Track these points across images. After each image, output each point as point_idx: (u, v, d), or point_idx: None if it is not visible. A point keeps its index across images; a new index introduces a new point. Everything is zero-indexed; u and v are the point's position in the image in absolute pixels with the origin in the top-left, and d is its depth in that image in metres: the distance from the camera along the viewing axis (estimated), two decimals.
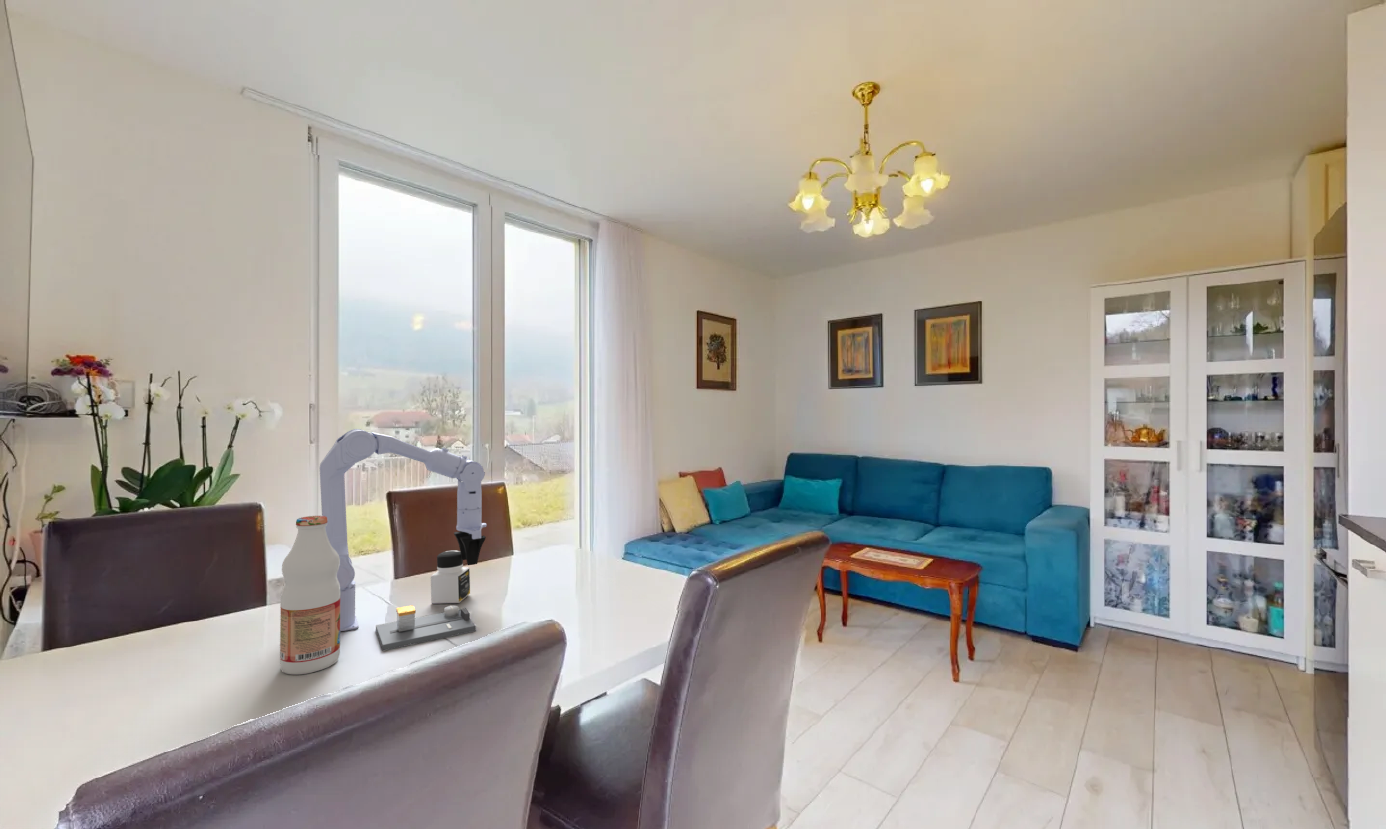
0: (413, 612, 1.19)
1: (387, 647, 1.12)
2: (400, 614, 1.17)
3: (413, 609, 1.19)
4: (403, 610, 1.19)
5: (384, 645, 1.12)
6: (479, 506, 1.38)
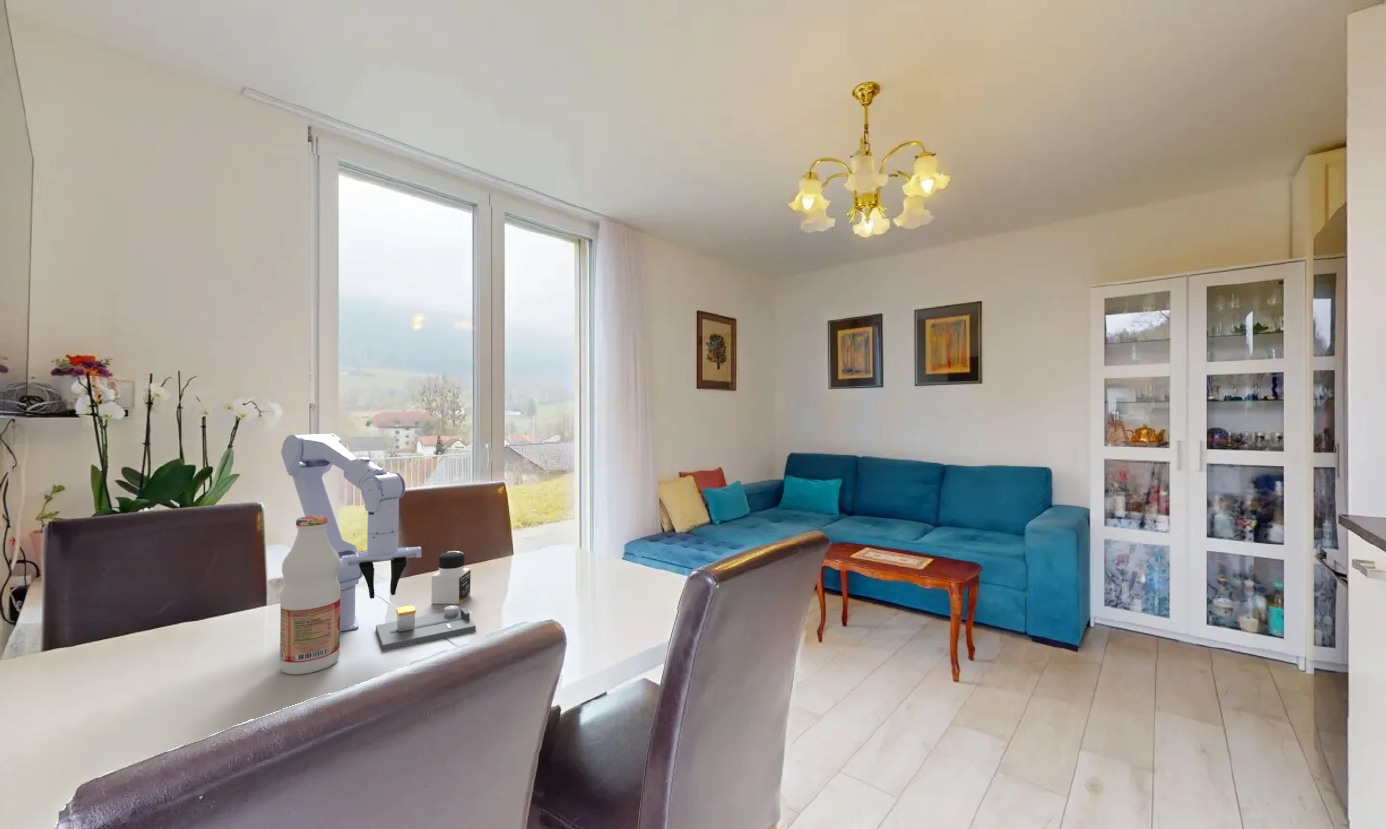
0: (413, 612, 1.19)
1: (387, 647, 1.12)
2: (400, 614, 1.17)
3: (413, 609, 1.19)
4: (403, 610, 1.19)
5: (384, 645, 1.12)
6: (379, 531, 1.14)
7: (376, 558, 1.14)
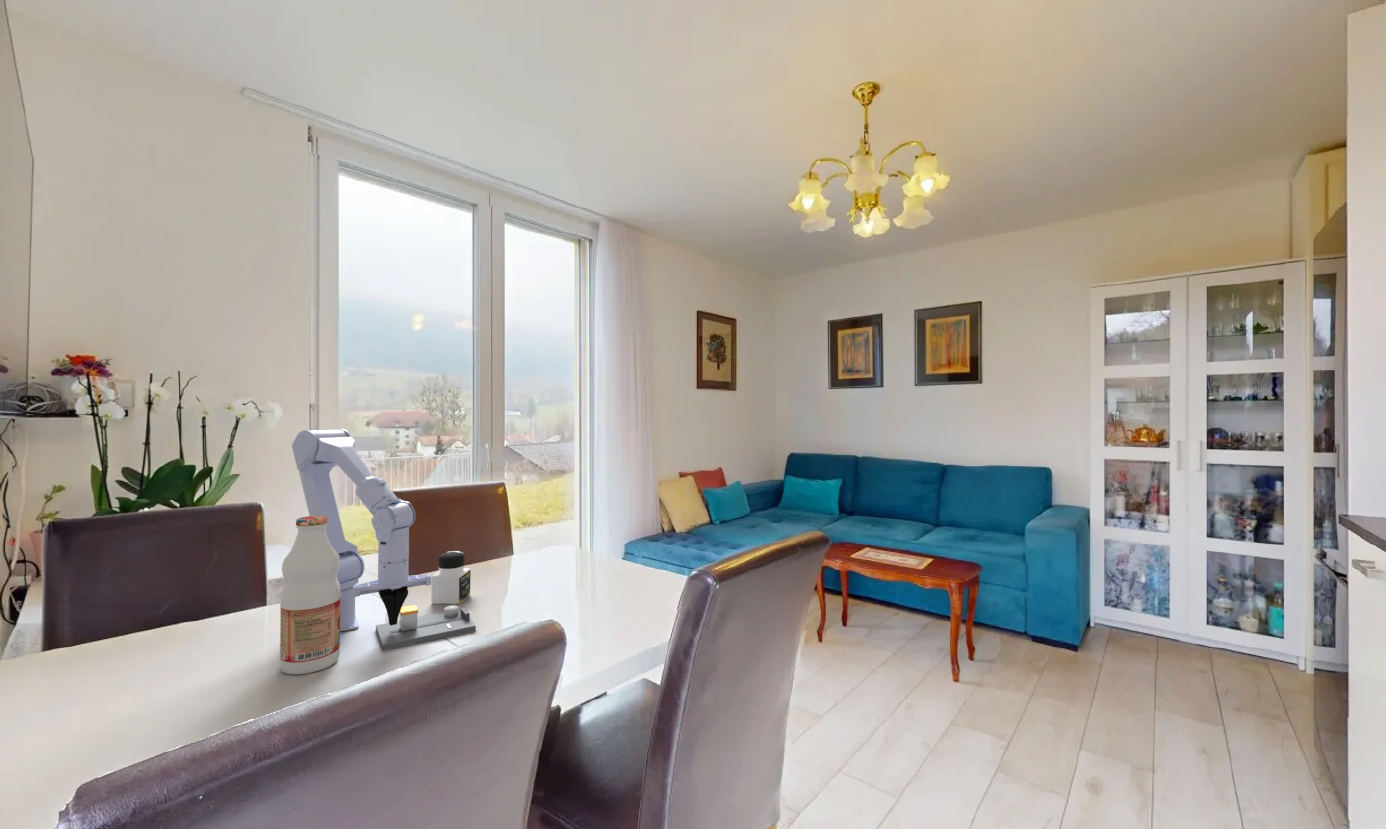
0: (416, 612, 1.19)
1: (387, 647, 1.12)
2: (403, 614, 1.18)
3: (416, 609, 1.20)
4: (406, 610, 1.19)
5: (384, 645, 1.12)
6: (392, 561, 1.15)
7: (387, 587, 1.15)
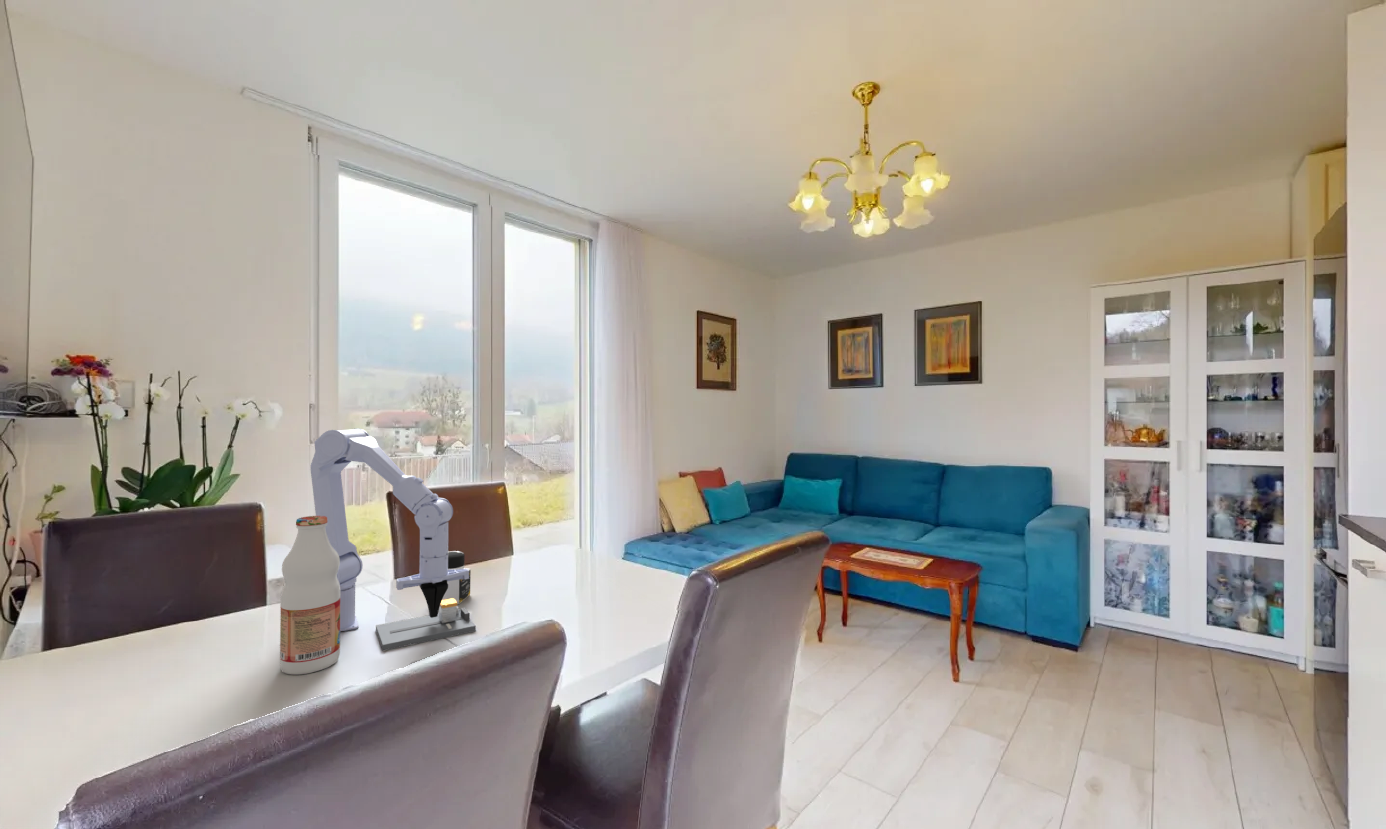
0: (455, 604, 1.24)
1: (387, 647, 1.12)
2: (443, 606, 1.22)
3: (455, 602, 1.24)
4: (445, 602, 1.24)
5: (384, 645, 1.12)
6: (437, 555, 1.20)
7: (429, 581, 1.20)
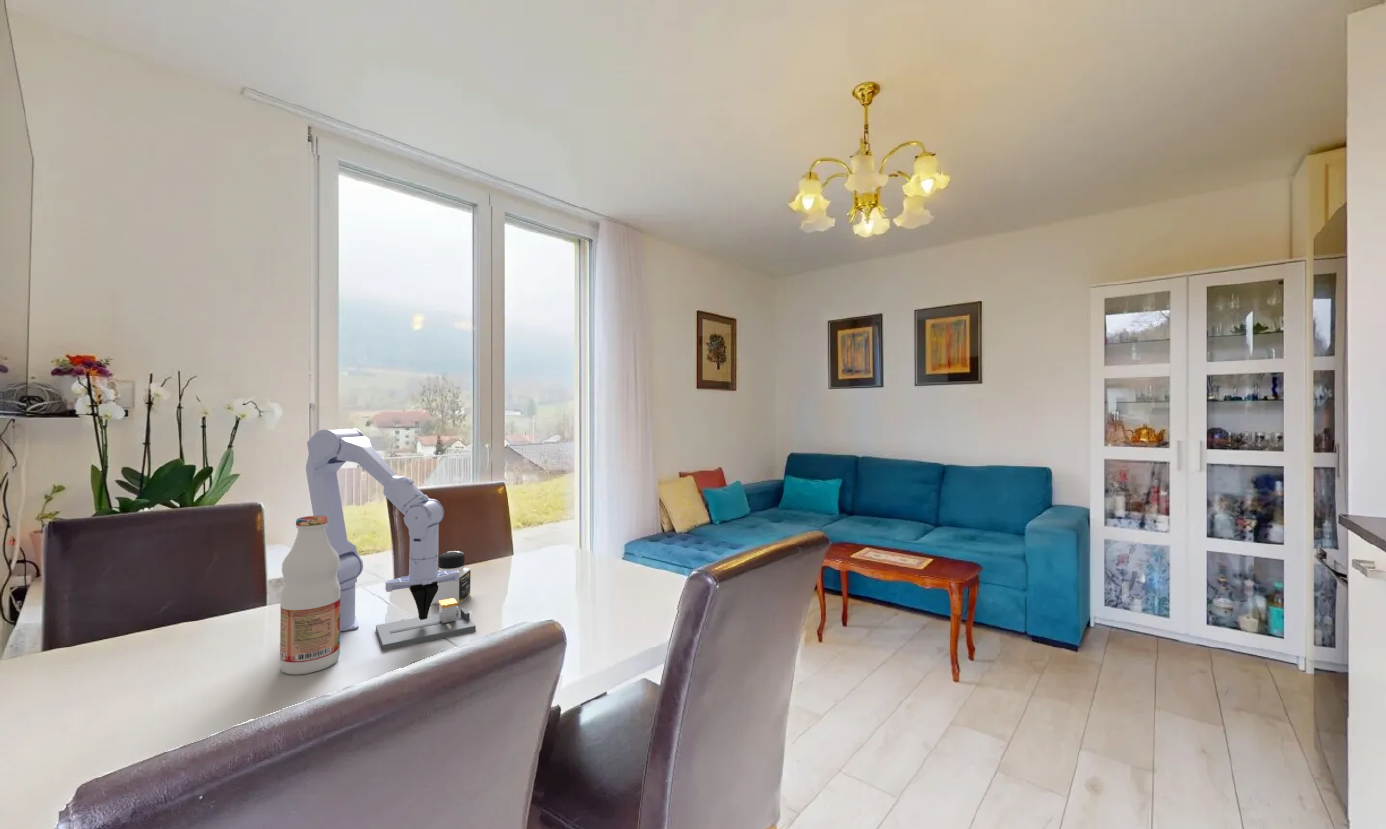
0: (455, 604, 1.24)
1: (387, 647, 1.12)
2: (443, 606, 1.22)
3: (455, 601, 1.24)
4: (445, 602, 1.24)
5: (384, 645, 1.12)
6: (426, 556, 1.19)
7: (418, 583, 1.18)
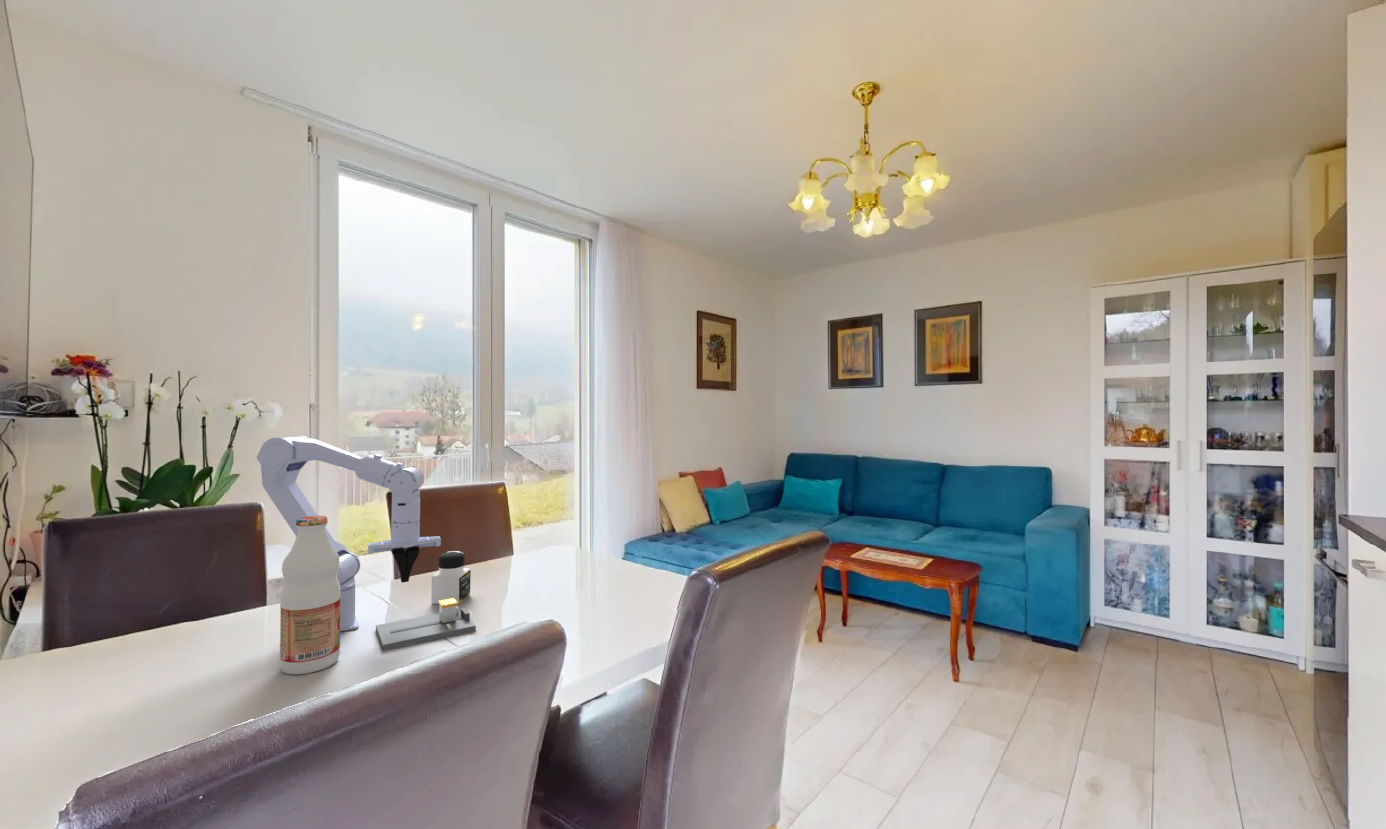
0: (455, 604, 1.24)
1: (387, 647, 1.12)
2: (443, 606, 1.22)
3: (455, 601, 1.24)
4: (445, 602, 1.24)
5: (384, 645, 1.12)
6: (411, 520, 1.23)
7: (399, 546, 1.22)
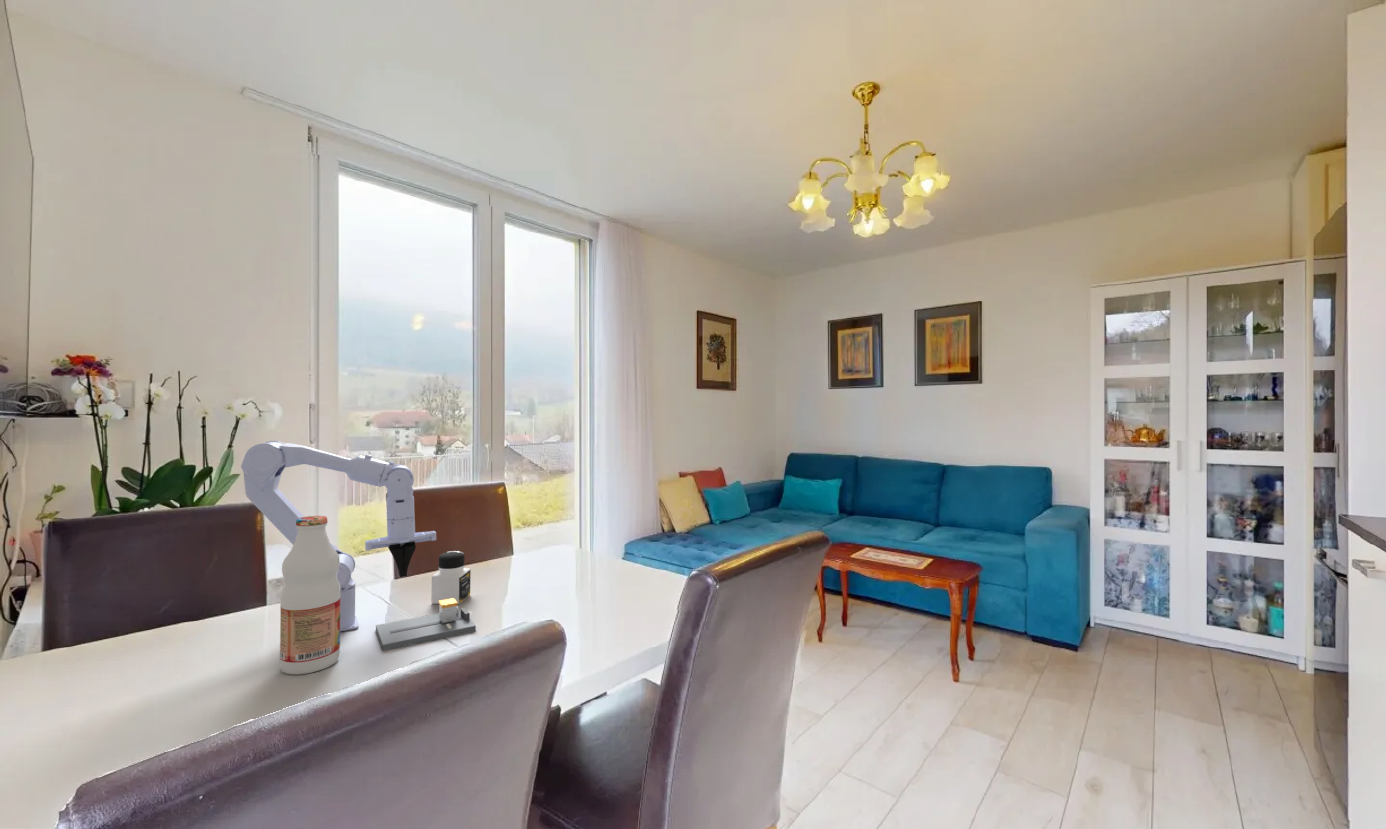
0: (455, 604, 1.24)
1: (387, 647, 1.12)
2: (443, 606, 1.22)
3: (455, 601, 1.24)
4: (445, 602, 1.24)
5: (384, 645, 1.12)
6: (409, 516, 1.27)
7: (396, 542, 1.25)
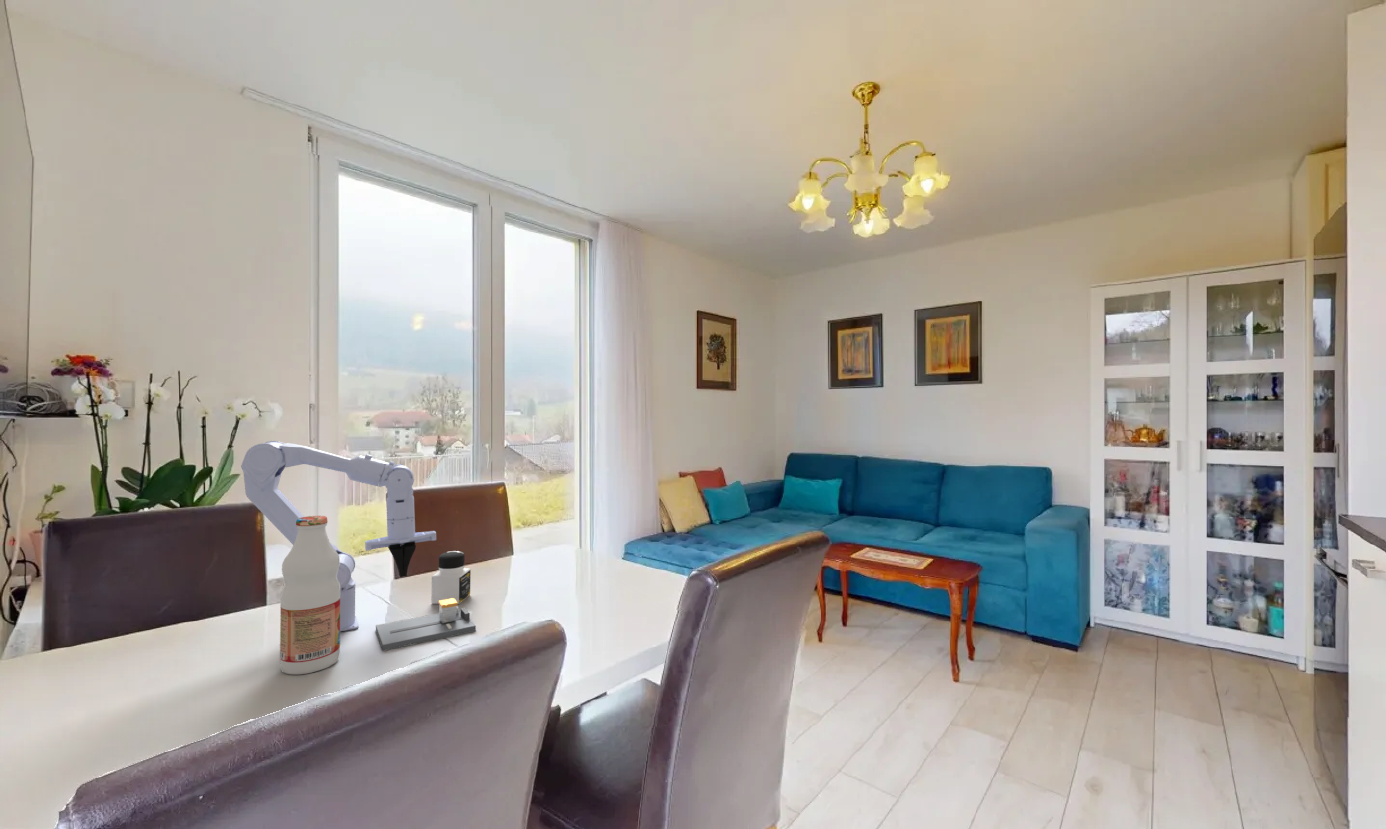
0: (455, 604, 1.24)
1: (387, 647, 1.12)
2: (443, 606, 1.22)
3: (455, 601, 1.24)
4: (445, 602, 1.24)
5: (384, 645, 1.12)
6: (409, 516, 1.27)
7: (396, 542, 1.25)
